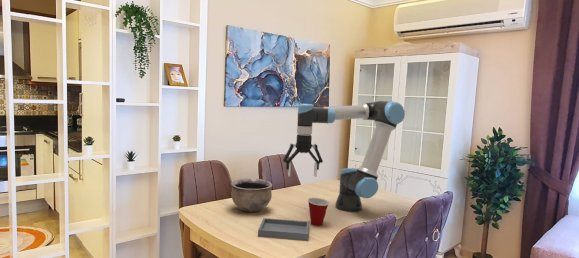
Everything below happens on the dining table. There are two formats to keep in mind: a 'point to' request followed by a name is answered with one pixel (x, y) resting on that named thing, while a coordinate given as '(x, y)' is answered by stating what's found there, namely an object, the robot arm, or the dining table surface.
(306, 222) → the cup tray
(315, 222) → the plastic cup
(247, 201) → the ceramic bowl
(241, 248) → the dining table surface
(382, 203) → the dining table surface
